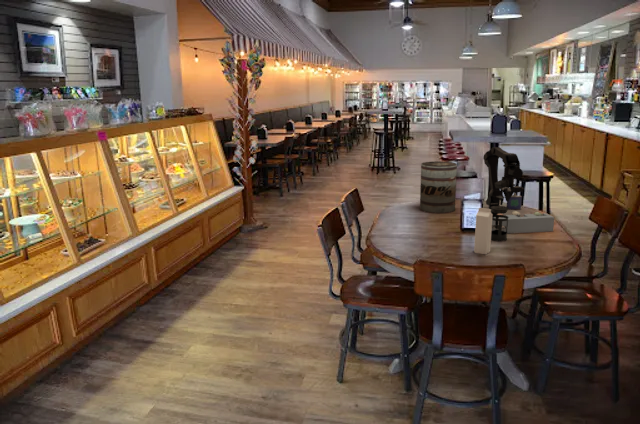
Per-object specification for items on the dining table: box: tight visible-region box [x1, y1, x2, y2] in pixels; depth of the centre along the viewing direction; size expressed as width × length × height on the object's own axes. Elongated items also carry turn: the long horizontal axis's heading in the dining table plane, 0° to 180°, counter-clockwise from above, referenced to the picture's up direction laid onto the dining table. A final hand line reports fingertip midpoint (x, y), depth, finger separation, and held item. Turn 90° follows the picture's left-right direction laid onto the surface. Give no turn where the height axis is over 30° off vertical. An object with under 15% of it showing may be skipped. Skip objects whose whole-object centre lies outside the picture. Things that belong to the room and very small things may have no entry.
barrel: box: [419, 160, 458, 215], centre depth 335 cm, size 22×22×30 cm
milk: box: [473, 207, 493, 255], centre depth 250 cm, size 6×6×22 cm
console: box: [492, 212, 555, 235], centre depth 287 cm, size 9×32×8 cm, turn 96°
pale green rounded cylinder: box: [533, 211, 542, 216], centre depth 290 cm, size 5×4×4 cm
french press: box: [491, 195, 509, 242], centre depth 271 cm, size 12×9×23 cm
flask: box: [506, 193, 523, 211], centre depth 333 cm, size 9×3×11 cm, turn 87°
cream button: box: [511, 210, 521, 217], centre depth 292 cm, size 5×4×4 cm
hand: (507, 201), depth 304 cm, fingers closed
